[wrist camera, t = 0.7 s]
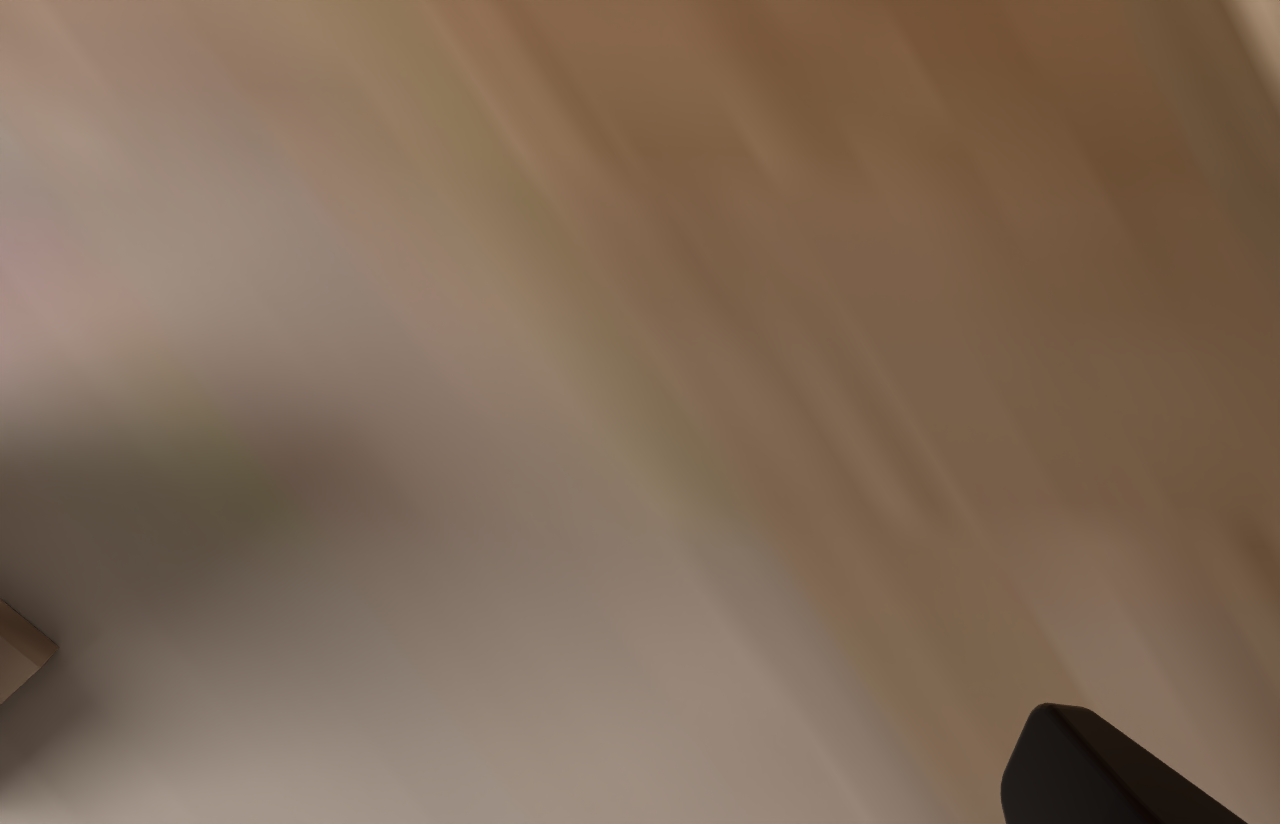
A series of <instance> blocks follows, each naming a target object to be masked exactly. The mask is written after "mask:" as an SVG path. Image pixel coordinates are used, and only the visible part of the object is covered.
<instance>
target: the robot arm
mask: <svg viewBox="0 0 1280 824" xmlns="http://www.w3.org/2000/svg"><path fill="white" fill-rule="evenodd" d="M1001 803H1002V809H1003V813H1004V817H1005V821H1006V824H1248V823H1246V822H1245V821H1244V820H1242V819H1241V818H1239V817H1238V816H1237V815H1235V814H1234V813H1232V812H1231V811H1230V810H1228V809H1227V808H1226V807H1224V806H1223V805H1221V804H1220V803H1219V802H1217V801H1216V800H1215V799H1213V798H1212V797H1210V796H1209V795H1208V794H1206V793H1205V792H1203V791H1202V790H1201V789H1199V788H1198V787H1197V786H1195V785H1194V784H1192V783H1191V782H1190V781H1188V780H1187V779H1186V778H1184V777H1183V776H1181V775H1180V774H1179V773H1177V772H1176V771H1175V770H1173V769H1172V768H1170V767H1169V766H1168V765H1166V764H1165V763H1163V762H1162V761H1161V760H1159V759H1158V758H1157V757H1155V756H1154V755H1152V754H1151V753H1150V752H1148V751H1147V750H1146V749H1144V748H1143V747H1141V746H1140V745H1139V744H1137V743H1136V742H1134V741H1133V740H1132V739H1130V738H1129V737H1128V736H1126V735H1125V734H1123V733H1122V732H1121V731H1119V730H1118V729H1117V728H1115V727H1114V726H1112V725H1111V724H1110V723H1108V722H1107V721H1106V720H1104V719H1103V718H1101V717H1100V716H1099V715H1097V714H1096V713H1094V712H1093V711H1091V710H1089V709H1087V708H1084V707H1079V706H1071V705H1062V704H1053V703H1044V704H1040V705H1038V706H1037V707H1035V708H1034V709H1033V710H1032V711H1031V713H1030V715H1029V717H1028V719H1027V721H1026V723H1025V726H1024V728H1023V730H1022V732H1021V735H1020V737H1019V739H1018V741H1017V744H1016V746H1015V748H1014V750H1013V753H1012V755H1011V757H1010V759H1009V762H1008V764H1007V766H1006V768H1005V771H1004V774H1003V777H1002V782H1001Z"/></svg>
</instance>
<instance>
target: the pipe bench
mask: <svg viewBox="0 0 1280 824" xmlns="http://www.w3.org/2000/svg"><path fill="white" fill-rule="evenodd" d="M58 648H59V647H58V646H57V645H56V644H55V643H53V642H52V641H51V640H50V639H48V638H47V637H46V636H45V635H44V634H42V633H41V632H40V631H39V630H38V629H36V628H35V627H34V626H33V625H31V624H30V623H29V622H28V621H27V620H25V619H24V618H23V617H22V616H21V615H19V614H18V613H17V612H16V611H14V610H13V609H12V608H11V607H10V606H8V605H7V604H6V603H5V602H4V601H2V600H1V599H0V705H1V704H2V703H3V702H4V701H5V700H6V699H7V698H8V697H9V696H10V695H11V694H13V693H14V692H15V691H16V690H17V689H18V688H19V687H20V686H21V685H22V684H24V683H25V682H26V681H27V680H28V679H29V678H30V677H31V676H32V675H33V674H34V673H36V672H37V671H38V670H39V669H40V668H41V667H42V666H43V665H44V664H45V663H46V661H47V660H48V659H49V658H50V657H51V656H52V655H53V654H54V653H55V652H56V651H57V650H58Z"/></svg>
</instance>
